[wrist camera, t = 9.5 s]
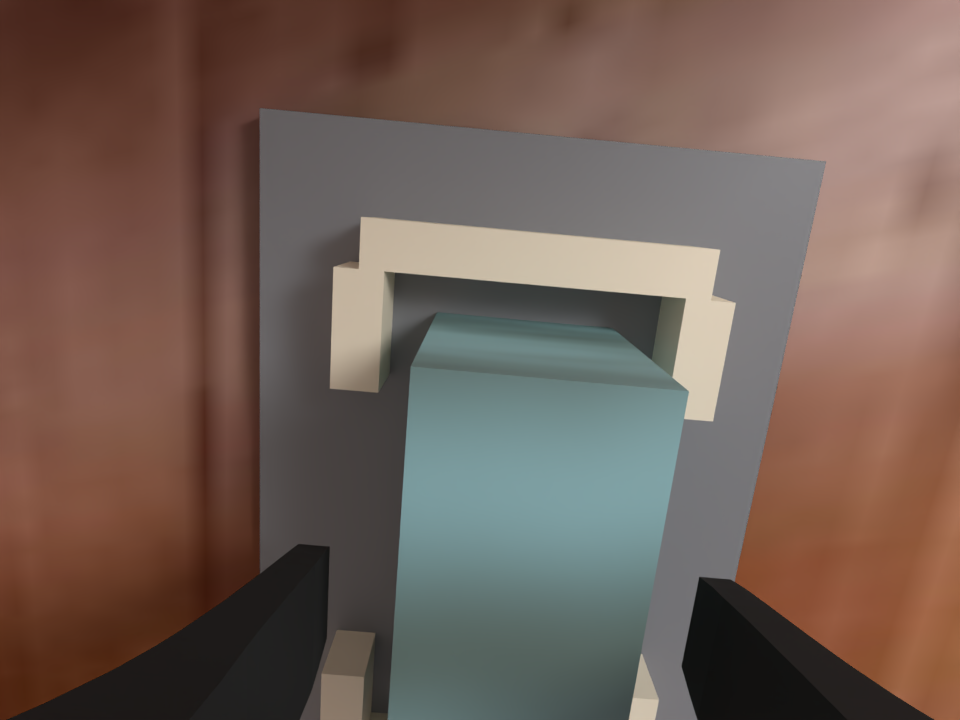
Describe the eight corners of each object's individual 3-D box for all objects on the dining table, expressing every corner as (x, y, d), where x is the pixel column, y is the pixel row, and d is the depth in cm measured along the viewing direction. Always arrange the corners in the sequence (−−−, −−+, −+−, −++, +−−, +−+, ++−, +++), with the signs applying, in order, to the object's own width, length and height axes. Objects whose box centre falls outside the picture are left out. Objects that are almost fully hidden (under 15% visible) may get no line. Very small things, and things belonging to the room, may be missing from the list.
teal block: (558, 694, 16) (593, 911, 11) (409, 682, 15) (376, 895, 11) (612, 327, 13) (689, 391, 8) (437, 312, 13) (410, 367, 8)
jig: (675, 802, 17) (701, 881, 15) (267, 772, 17) (238, 848, 15) (810, 164, 13) (872, 153, 11) (269, 113, 13) (229, 92, 11)
